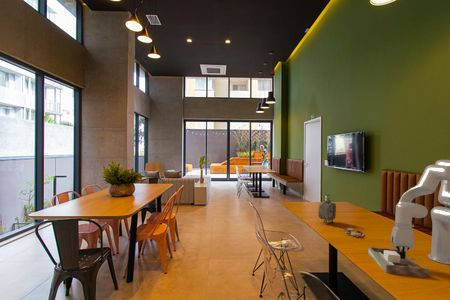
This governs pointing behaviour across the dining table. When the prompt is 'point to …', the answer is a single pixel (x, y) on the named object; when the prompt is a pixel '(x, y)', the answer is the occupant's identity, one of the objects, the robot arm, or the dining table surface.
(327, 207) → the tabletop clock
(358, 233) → the toy food set
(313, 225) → the dining table surface
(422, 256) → the dining table surface
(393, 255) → the cream block
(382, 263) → the box
